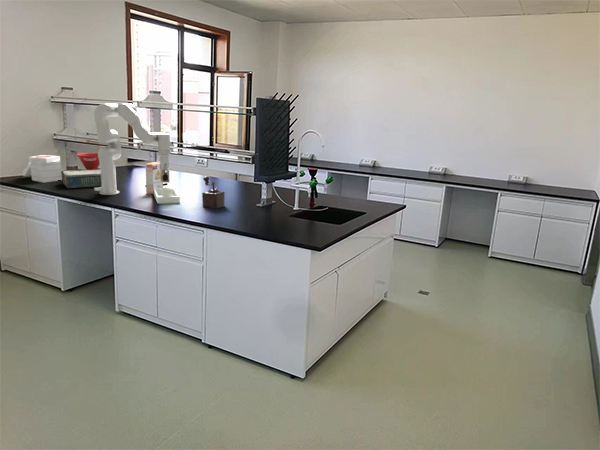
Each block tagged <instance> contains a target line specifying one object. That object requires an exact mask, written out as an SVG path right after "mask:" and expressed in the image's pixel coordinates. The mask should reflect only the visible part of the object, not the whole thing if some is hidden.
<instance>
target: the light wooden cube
mask: <svg viewBox="0 0 600 450" xmlns="http://www.w3.org/2000/svg"><path fill="white" fill-rule="evenodd" d="M164 170H165V169H164ZM167 171H168V181H163V169H162V170H161V182H162V183H163V184H164V183H170V170H169V169H168V170H167Z"/></svg>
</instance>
